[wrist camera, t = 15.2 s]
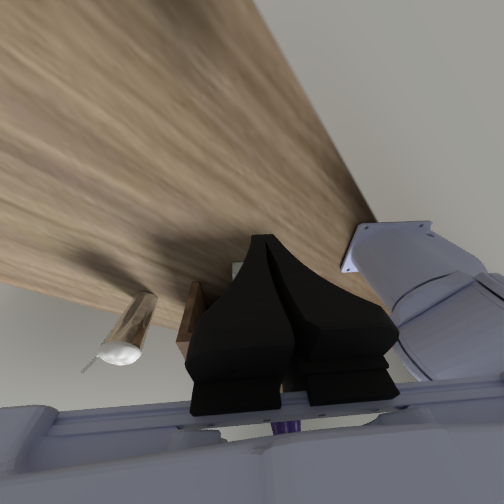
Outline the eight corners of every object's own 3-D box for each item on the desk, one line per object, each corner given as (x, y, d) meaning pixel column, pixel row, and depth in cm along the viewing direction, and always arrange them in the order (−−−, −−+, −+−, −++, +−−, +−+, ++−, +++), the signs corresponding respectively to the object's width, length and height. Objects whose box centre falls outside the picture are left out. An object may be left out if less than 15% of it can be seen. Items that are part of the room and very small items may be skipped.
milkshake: (120, 289, 26) (69, 364, 18) (157, 288, 27) (123, 361, 19) (131, 307, 29) (92, 379, 21) (165, 306, 29) (139, 377, 21)
